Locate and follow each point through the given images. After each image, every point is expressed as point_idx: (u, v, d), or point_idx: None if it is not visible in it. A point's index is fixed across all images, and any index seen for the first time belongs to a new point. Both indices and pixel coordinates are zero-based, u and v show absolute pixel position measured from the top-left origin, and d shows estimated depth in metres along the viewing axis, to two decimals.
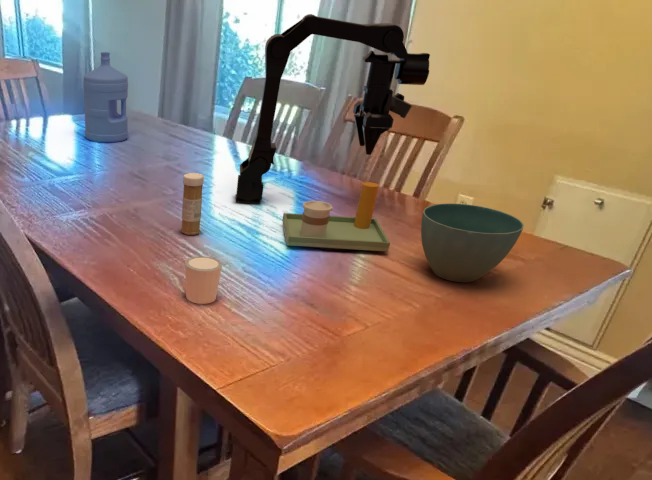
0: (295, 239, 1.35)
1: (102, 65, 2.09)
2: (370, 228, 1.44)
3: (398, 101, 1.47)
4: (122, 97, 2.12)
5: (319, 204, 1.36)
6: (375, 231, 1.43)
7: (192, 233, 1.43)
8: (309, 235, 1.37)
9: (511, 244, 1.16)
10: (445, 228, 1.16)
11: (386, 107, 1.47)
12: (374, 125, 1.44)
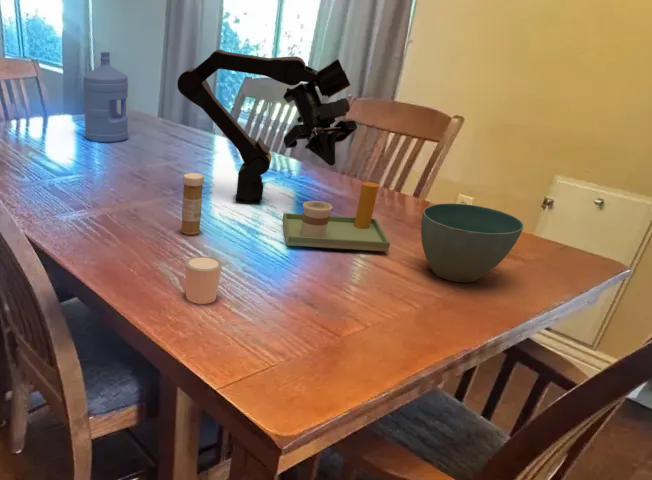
0: (295, 239, 1.35)
1: (102, 65, 2.09)
2: (370, 228, 1.44)
3: (319, 108, 1.43)
4: (122, 97, 2.12)
5: (319, 204, 1.36)
6: (375, 231, 1.43)
7: (192, 233, 1.43)
8: (309, 235, 1.37)
9: (511, 244, 1.16)
10: (445, 228, 1.16)
11: (313, 120, 1.45)
12: (288, 142, 1.45)
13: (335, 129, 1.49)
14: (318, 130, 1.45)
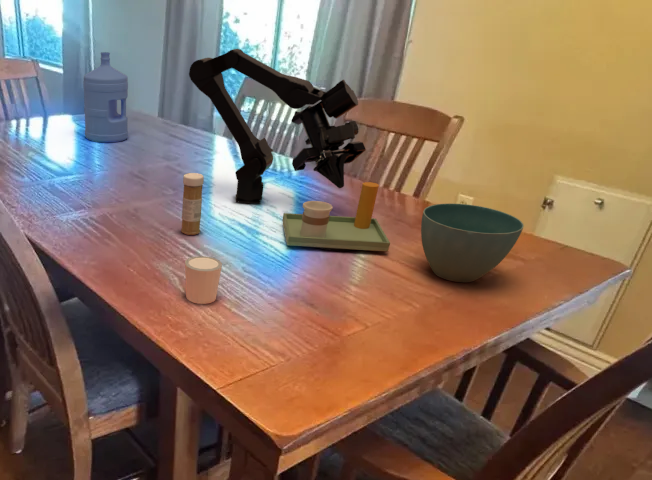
0: (295, 239, 1.35)
1: (102, 65, 2.09)
2: (370, 228, 1.44)
3: (328, 131, 1.43)
4: (122, 97, 2.12)
5: (319, 204, 1.36)
6: (375, 231, 1.43)
7: (192, 233, 1.43)
8: (309, 235, 1.37)
9: (511, 244, 1.16)
10: (445, 228, 1.16)
11: (321, 143, 1.45)
12: (297, 165, 1.45)
13: (343, 151, 1.48)
14: (327, 153, 1.45)
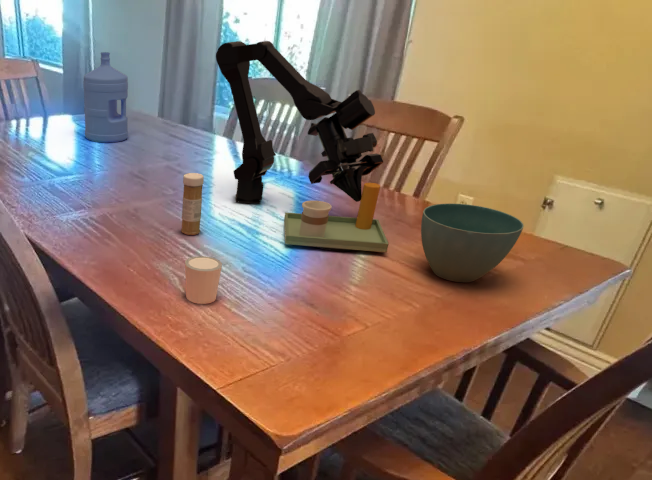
0: (293, 238, 1.36)
1: (102, 65, 2.09)
2: (371, 229, 1.44)
3: (345, 143, 1.39)
4: (122, 97, 2.12)
5: (318, 204, 1.37)
6: (376, 232, 1.42)
7: (192, 233, 1.43)
8: (307, 234, 1.37)
9: (511, 244, 1.16)
10: (445, 228, 1.16)
11: (339, 155, 1.41)
12: (313, 178, 1.41)
13: (361, 164, 1.45)
14: (344, 166, 1.41)
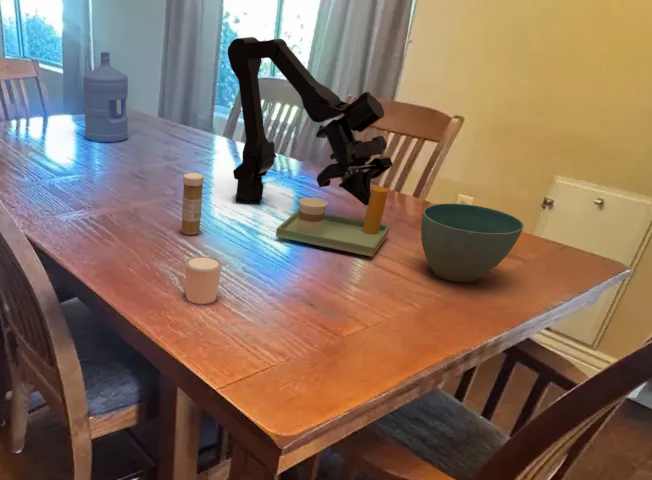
0: (283, 231, 1.39)
1: (102, 65, 2.09)
2: (377, 234, 1.41)
3: (355, 146, 1.37)
4: (122, 97, 2.12)
5: (316, 201, 1.38)
6: (379, 237, 1.39)
7: (192, 233, 1.43)
8: (300, 230, 1.40)
9: (511, 244, 1.16)
10: (445, 228, 1.16)
11: (348, 158, 1.39)
12: (322, 181, 1.39)
13: (370, 167, 1.42)
14: (353, 169, 1.39)
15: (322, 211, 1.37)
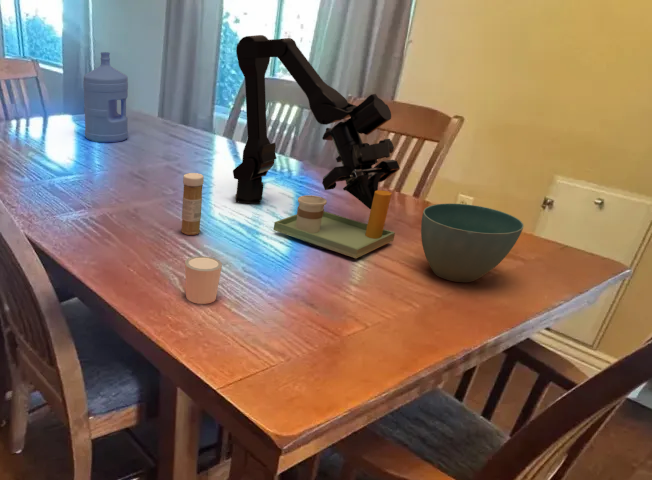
0: (279, 226, 1.42)
1: (102, 65, 2.09)
2: (378, 239, 1.38)
3: (361, 149, 1.35)
4: (122, 97, 2.12)
5: (315, 199, 1.39)
6: None
7: (192, 233, 1.43)
8: (297, 226, 1.42)
9: (511, 244, 1.16)
10: (445, 228, 1.16)
11: (354, 161, 1.37)
12: (327, 184, 1.37)
13: (376, 170, 1.41)
14: (358, 172, 1.37)
15: (319, 209, 1.38)
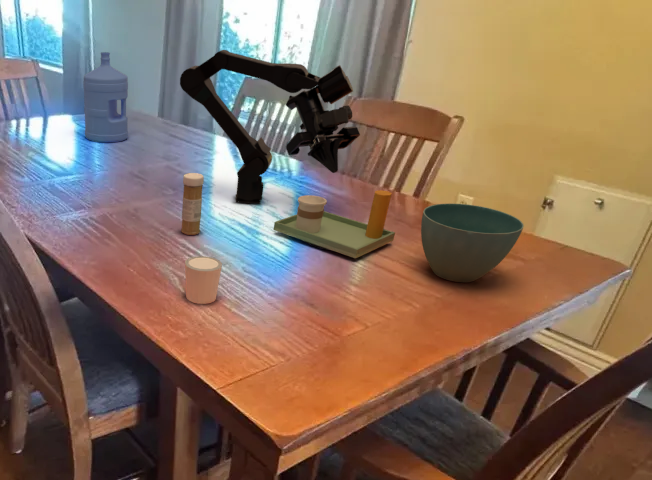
0: (279, 225, 1.42)
1: (102, 65, 2.09)
2: (378, 239, 1.38)
3: (322, 115, 1.43)
4: (122, 97, 2.12)
5: (315, 199, 1.39)
6: None
7: (192, 233, 1.43)
8: (297, 226, 1.42)
9: (511, 244, 1.16)
10: (445, 228, 1.16)
11: (315, 127, 1.45)
12: (291, 149, 1.45)
13: (338, 136, 1.49)
14: (321, 137, 1.45)
15: (319, 209, 1.38)
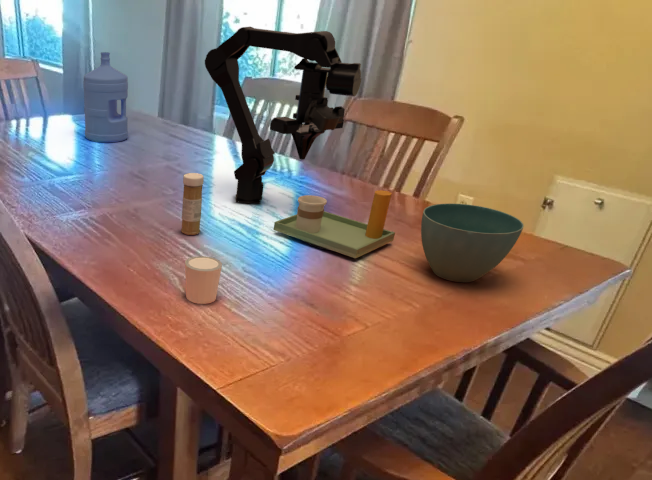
0: (279, 225, 1.42)
1: (102, 65, 2.09)
2: (378, 239, 1.38)
3: (315, 111, 1.42)
4: (122, 97, 2.12)
5: (315, 199, 1.39)
6: None
7: (192, 233, 1.43)
8: (297, 226, 1.42)
9: (511, 244, 1.16)
10: (445, 228, 1.16)
11: (305, 116, 1.44)
12: (273, 128, 1.46)
13: None
14: (305, 127, 1.46)
15: (319, 209, 1.38)
